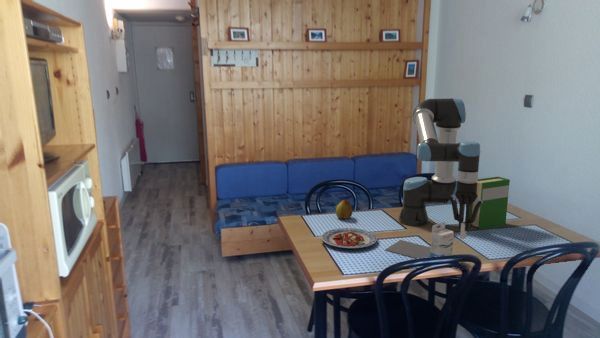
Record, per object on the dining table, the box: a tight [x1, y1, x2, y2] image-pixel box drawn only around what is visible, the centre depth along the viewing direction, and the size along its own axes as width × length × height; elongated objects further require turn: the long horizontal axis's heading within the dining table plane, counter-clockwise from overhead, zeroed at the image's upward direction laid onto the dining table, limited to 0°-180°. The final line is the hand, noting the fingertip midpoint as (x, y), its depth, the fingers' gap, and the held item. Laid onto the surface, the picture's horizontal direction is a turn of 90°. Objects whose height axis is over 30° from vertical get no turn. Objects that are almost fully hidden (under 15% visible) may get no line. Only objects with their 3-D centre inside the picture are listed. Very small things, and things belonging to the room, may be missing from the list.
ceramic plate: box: [320, 227, 378, 249], centre depth 204 cm, size 26×26×3 cm
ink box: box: [430, 221, 455, 257], centre depth 183 cm, size 8×5×15 cm, turn 123°
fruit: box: [335, 197, 353, 220], centre depth 237 cm, size 9×9×12 cm
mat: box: [384, 239, 431, 260], centre depth 193 cm, size 19×15×1 cm
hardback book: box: [469, 176, 511, 231], centre depth 223 cm, size 18×7×24 cm, turn 114°
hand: (463, 237), depth 177 cm, fingers closed
